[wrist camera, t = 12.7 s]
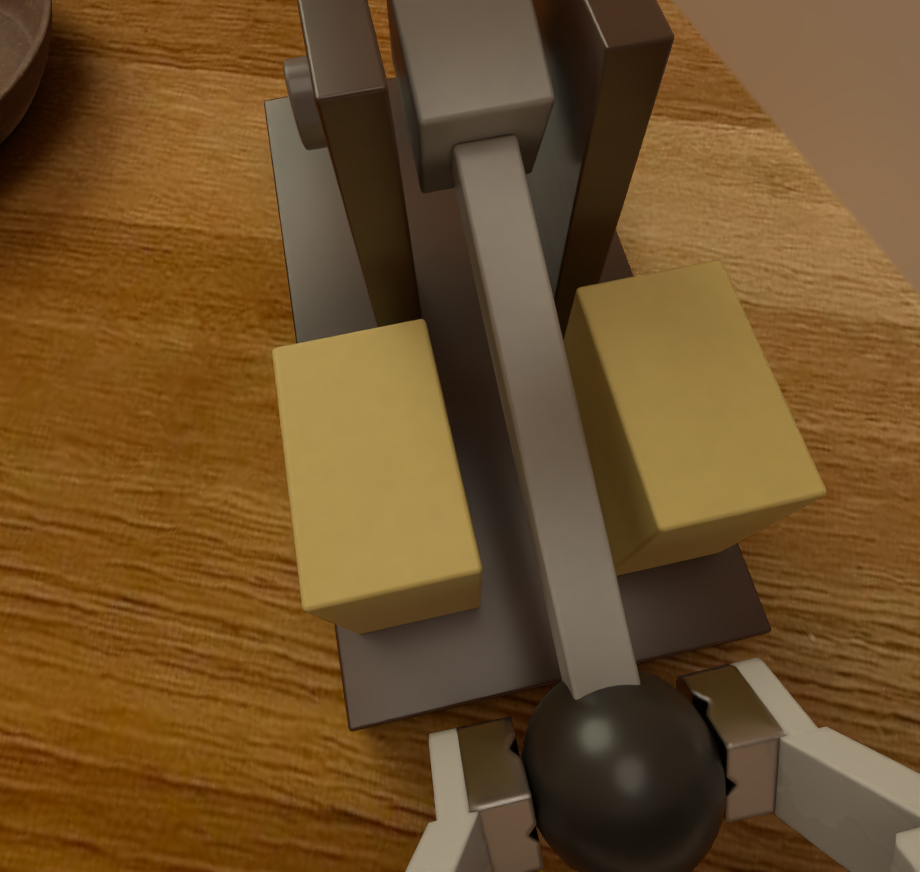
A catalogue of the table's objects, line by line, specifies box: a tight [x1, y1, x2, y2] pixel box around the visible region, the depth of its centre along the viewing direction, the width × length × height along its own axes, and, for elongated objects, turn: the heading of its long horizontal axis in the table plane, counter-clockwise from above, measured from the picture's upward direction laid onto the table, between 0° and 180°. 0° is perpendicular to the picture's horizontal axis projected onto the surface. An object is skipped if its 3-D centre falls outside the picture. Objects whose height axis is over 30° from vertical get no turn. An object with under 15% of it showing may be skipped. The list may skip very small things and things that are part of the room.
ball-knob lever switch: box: [387, 0, 726, 872], centre depth 10 cm, size 15×3×3 cm, turn 12°
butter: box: [272, 260, 826, 634], centre depth 13 cm, size 9×5×5 cm, turn 102°
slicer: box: [264, 0, 771, 731], centre depth 14 cm, size 20×10×11 cm, turn 12°
